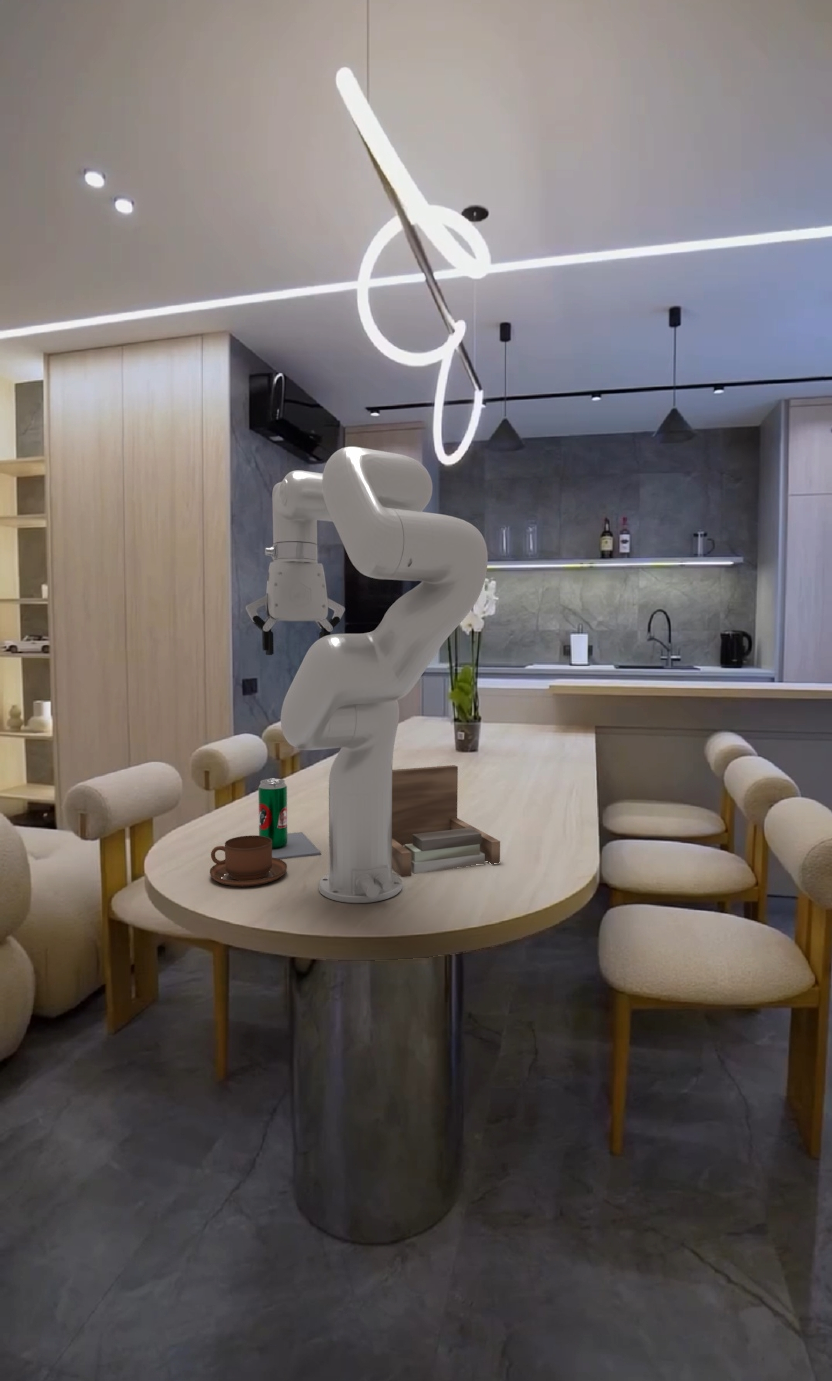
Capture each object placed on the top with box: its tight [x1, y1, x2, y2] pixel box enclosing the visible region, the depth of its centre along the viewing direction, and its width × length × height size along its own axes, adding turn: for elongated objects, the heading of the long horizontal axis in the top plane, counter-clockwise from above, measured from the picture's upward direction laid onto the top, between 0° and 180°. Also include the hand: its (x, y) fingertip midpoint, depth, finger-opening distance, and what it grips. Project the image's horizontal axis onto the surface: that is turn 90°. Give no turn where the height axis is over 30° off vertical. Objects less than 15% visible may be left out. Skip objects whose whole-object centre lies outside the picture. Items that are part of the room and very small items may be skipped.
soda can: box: [258, 778, 288, 849], centre depth 128 cm, size 5×5×12 cm
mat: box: [272, 831, 322, 860], centre depth 129 cm, size 14×14×1 cm
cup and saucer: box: [209, 834, 288, 888], centre depth 113 cm, size 12×12×6 cm
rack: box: [392, 764, 501, 878], centre depth 125 cm, size 18×18×14 cm
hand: (297, 654), depth 124 cm, fingers open, 9 cm apart
